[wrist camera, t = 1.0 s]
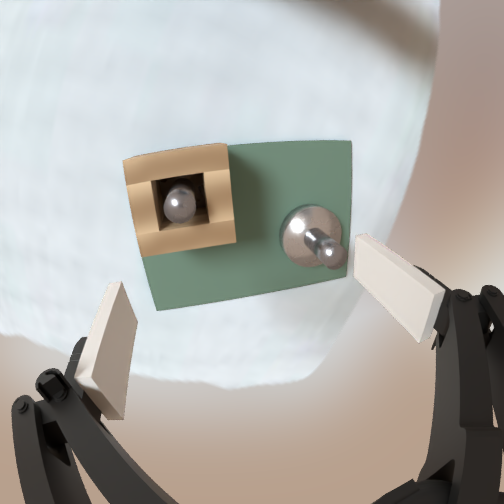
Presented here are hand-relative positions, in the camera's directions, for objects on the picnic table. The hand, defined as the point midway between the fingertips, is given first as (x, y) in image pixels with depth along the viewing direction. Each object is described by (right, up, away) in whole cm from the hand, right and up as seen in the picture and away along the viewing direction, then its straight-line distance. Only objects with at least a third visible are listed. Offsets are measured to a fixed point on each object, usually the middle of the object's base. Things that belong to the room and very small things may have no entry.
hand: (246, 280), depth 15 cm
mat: (0, +5, +20) cm, 20 cm away
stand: (-8, +9, +16) cm, 20 cm away
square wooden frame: (-7, +8, +14) cm, 18 cm away
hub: (+8, +4, +21) cm, 23 cm away
